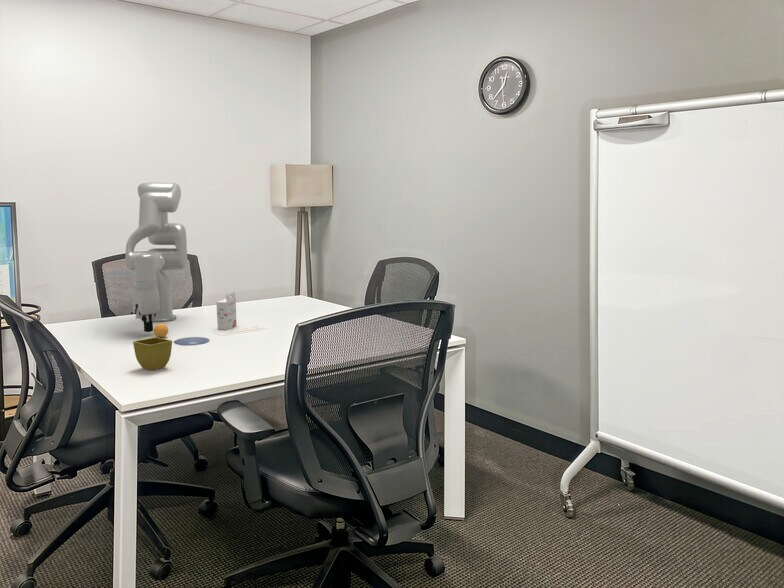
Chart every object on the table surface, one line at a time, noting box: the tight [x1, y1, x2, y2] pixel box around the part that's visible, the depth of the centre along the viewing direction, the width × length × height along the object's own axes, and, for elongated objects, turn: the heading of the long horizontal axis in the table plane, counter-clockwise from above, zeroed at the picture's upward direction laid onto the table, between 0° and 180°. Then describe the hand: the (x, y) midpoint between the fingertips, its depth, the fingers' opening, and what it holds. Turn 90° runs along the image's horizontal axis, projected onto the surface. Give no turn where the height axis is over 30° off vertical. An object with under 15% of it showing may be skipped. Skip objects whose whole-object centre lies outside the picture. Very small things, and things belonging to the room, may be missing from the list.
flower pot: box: [132, 336, 173, 371], centre depth 203 cm, size 9×9×9 cm
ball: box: [152, 322, 169, 338], centre depth 246 cm, size 6×6×6 cm
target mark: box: [173, 336, 210, 346], centre depth 241 cm, size 13×13×1 cm
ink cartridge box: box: [215, 292, 237, 331], centre depth 265 cm, size 9×5×15 cm, turn 168°
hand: (148, 331), depth 250 cm, fingers closed
